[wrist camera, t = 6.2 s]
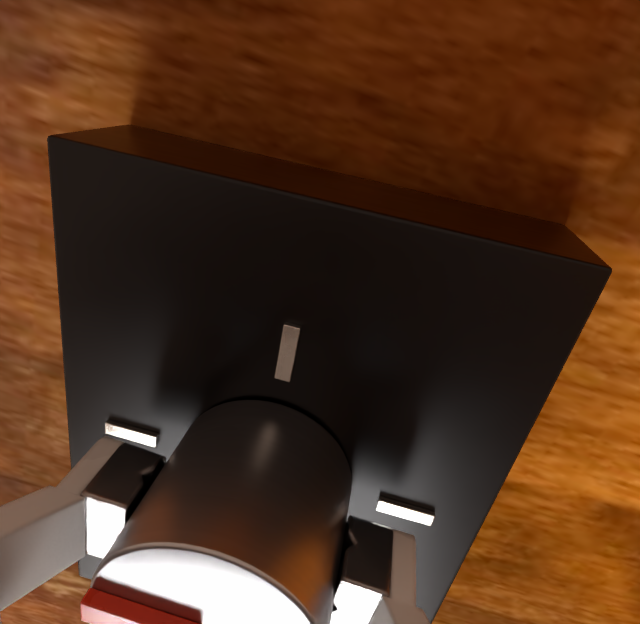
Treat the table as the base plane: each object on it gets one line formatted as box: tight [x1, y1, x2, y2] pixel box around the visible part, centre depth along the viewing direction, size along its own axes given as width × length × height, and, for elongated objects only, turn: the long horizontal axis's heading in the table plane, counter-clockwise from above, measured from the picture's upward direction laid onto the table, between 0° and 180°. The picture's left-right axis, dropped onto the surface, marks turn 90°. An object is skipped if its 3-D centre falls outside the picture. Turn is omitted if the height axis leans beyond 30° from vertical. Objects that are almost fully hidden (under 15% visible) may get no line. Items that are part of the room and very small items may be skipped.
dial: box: [80, 400, 352, 624], centre depth 10 cm, size 4×4×4 cm
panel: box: [47, 125, 612, 624], centre depth 13 cm, size 14×11×3 cm
